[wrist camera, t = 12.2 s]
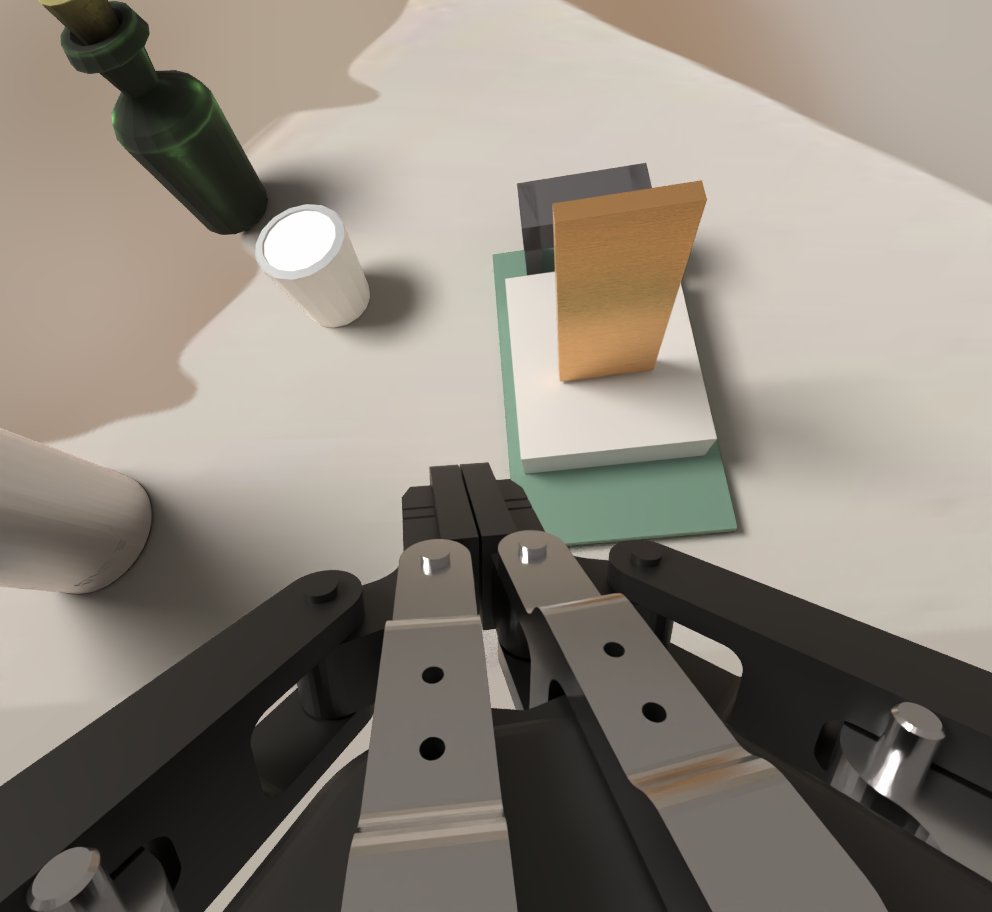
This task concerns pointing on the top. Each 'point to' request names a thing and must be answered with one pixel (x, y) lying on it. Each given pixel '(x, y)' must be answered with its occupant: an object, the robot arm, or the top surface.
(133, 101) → the potion bottle
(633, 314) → the wooden l-shaped piece
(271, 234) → the white cup
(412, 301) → the top surface
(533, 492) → the heatsink board
